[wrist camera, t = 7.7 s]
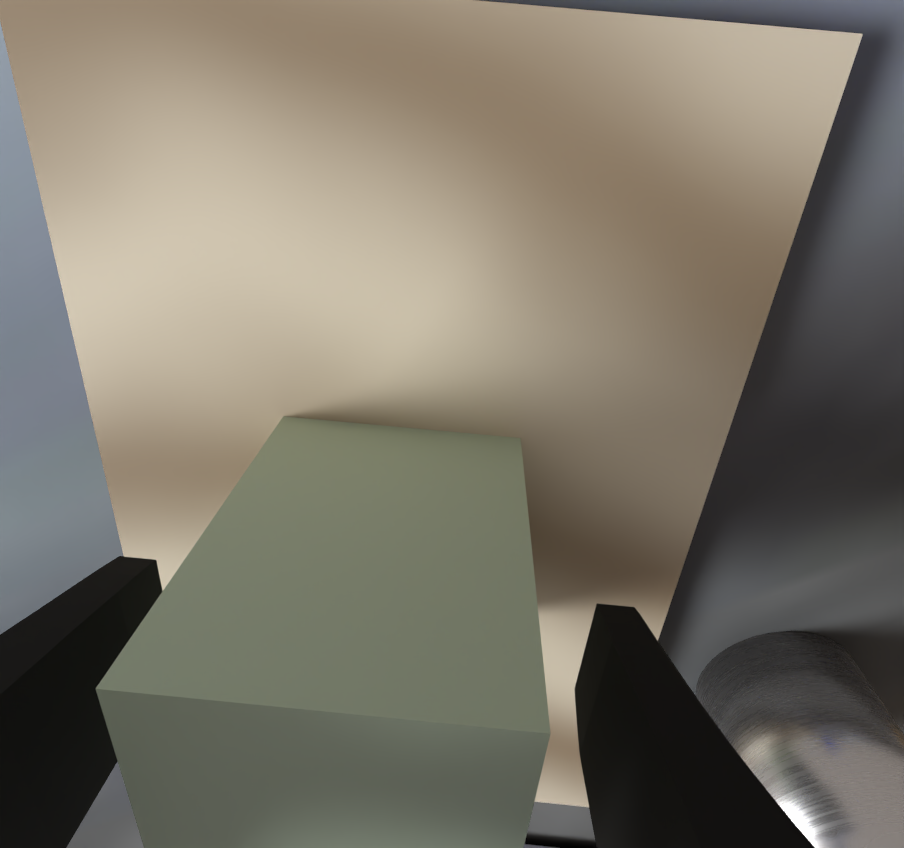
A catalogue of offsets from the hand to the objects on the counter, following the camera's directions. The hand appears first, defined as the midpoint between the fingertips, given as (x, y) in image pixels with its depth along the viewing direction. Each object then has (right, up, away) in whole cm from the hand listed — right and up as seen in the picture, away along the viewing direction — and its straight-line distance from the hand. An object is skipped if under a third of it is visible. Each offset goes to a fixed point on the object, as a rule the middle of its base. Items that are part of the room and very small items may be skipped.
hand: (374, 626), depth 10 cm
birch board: (0, +2, +3) cm, 4 cm away
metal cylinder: (+10, -4, +6) cm, 12 cm away
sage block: (0, +1, +2) cm, 3 cm away
